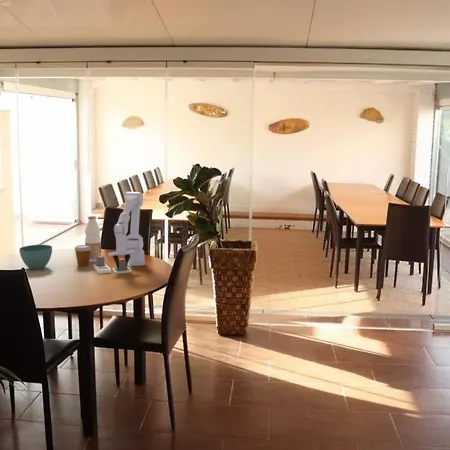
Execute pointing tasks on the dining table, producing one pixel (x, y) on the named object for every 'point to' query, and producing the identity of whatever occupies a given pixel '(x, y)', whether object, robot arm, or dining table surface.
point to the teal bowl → (36, 255)
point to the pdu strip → (102, 269)
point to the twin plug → (100, 261)
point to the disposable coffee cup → (83, 255)
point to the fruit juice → (93, 238)
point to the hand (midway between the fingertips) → (121, 268)
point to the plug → (122, 265)
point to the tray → (121, 271)
